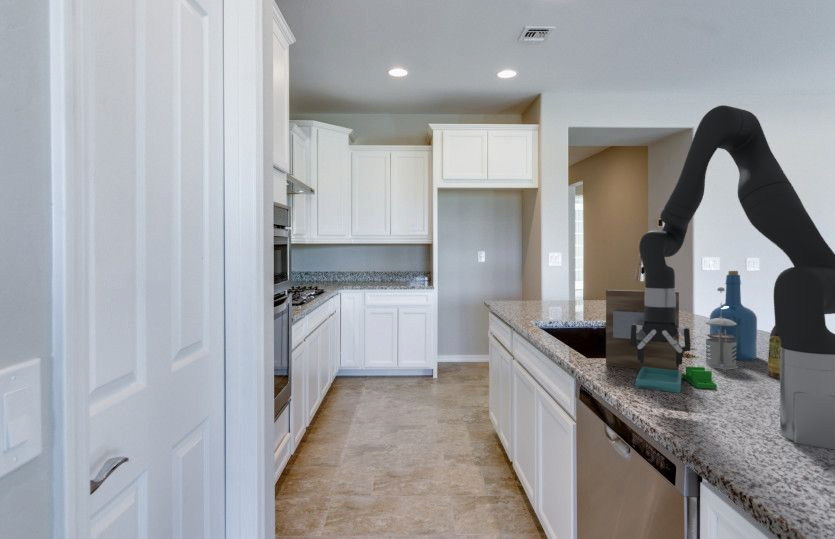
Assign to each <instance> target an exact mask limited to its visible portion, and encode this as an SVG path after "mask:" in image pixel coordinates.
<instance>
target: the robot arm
mask: <svg viewBox="0 0 835 539" xmlns="http://www.w3.org/2000/svg"><path fill="white" fill-rule="evenodd" d="M717 149H721V150H724V151H726V152H727V153H728V154H729V155H730V157H731V158H732V160H733V162H734V164H735V165H736V167H737V169H738V173H739V175H738V176H739V177H738V178H739V179H738V184H737V198H738V202H739V203H740V205H741V207H742V209H743V211H744V214H745V216H746V218H747V220H748V221H749V223H750V225H752V226H753V227H754V228H755V230H757V231H758V233H760V234H761V235H763V236H764V237H765V238H766V239H767V240H769V241H770V242H771V243H773V245H775V246H777V247H778V248H779V249H780V250H781V251H782V252H783V253H784V254H785V255H786V256H787V257H788V258H789V260H790V263H792V265H793V266H791V267H788V268H785V269H784V270H782V272H780V273H779V274H778V275H777V278H776V279H775V281H774V287H773V310H774V311H773V312H774V326H775V327H776V331H777V334H778V336H779V338H780V346H781V347H780V379H779V433H780V435H781V436H782V437H784V438H786V439H788V440H790V441H792V442H794V444H798V445H804V446H810V447H817V448H823V449H824V448H825V449H828V450H834V451H835V333H834V332H832V331H830V329H829V328H828V327H827V325H826V315H833V314H835V252H834V251H833V250H832V248H831V247H830V246H829V244H828V243H827V242H826V240H825V239H824V237H823V236H822V234H821V233H820V231H819V229H818V228H817V226H816V224H815V223H814V221H813V220H812V218H811V216H810V214H809V213H808V211H807V210H806V208H805V206H804V205H803V202H802V200H801V198H800V197H799V195H798V192H797V191H796V190H795V188H794V186H793V184H792V183H791V181H790V179H789V178H788V176H787V175H786V174H785V172H784V170H783V169H782V166H781V165H780V163H779V162H778V159H777V158H776V157H775V155H774V154H773V152H772V150H771V147H770V146H769V143H768V140H767V137H766V135H765V133H764V130H763V127H762V125H761V123H760V121H759V119H758V117H757V116H756V115H755V114H754V113H753V112H752V111H749V110H746V109H742V108H738V107H734V106H729V105H716V106H714V107H712V108H711V109H709V110H708V111H707V112H706V113H705V114H704V115H703V116H702V118H701V120H700V121H699V123H698V126H697V128H696V131H695V133H694V135H693V139H692V141H691V145H690V147H689V149H688V151H687V152H688V153H687V155H686V158H685V160H684V164H683V167H682V169H681V172H680V174H679V175H680V176H679V177H678V179H677V182H676V184H675V187H673V188H674V189H673V190H672V192H671V193H670V195H669V197H668V199H667V202H666V203H665V205H664V206H663V208H662V211H661V213H660V215H659V216H660V217H659V218H660V220H661V222H663V223H664V225H663V228H662V230H649V231H648V232H646V233H644V234H643V235H642V236H641V238H640V241H639V245H638V246H639V249H638V250H639V256H640V258H641V263H642V267H643V269H644V274H645V278H644V282H645V286H644V287H645V288H644V289H645V290H644V291H645V294H644V325H643V326H641V325H636V324H633V325H632V326H631V339H630V345H631V346H634V347H636V348H637V350H638V360H640V363H643V362H644V348H643V347H644V345H645V344H646V343H647V342H648V341H649V340H651V341H653V342H662V343H666V342H670V343H671V344H672V346H673V347H674V348H675V349H676V350H677V351H676V367H679V368H680V365H681V366H682V364H683V353H684V352H690V351H691V334H690V328H689V327H679V328H677V326H676V294H675V292H676V289H675V286H676V281H675V280H676V274H675V269H674V268H673V267H671V266H669V265H668V264H667V262H666V258H670V257H673V256H675V255H676V254H677V253H678V252H679V251H680V250H681V248H682V247H683V244H684V241H685V239H686V234H687V232H688V227H689V224H690V222H691V221H692V219H693V217H694V215H695V214H696V213H697V210H698V208H699V207H700V205H701V203H702V201H703V197H704V194H705V189H706V188H705V186H706V175H707V171H708V170H707V169H708V167H709V163H710V162H711V159H712V157H713V156H714V154H715V153H716V151H717ZM641 329H642V330H643V331H644V333H645V334H646V335H647V336H646V337H645V338H644V339H643V340H642V341H641V342H640V343H638V342H636V336H637V333H638V332H639V331H640V330H641ZM677 332H679V334H680V335H681V336H682V337H684V345H683V346H681V345H680V342H679V343H678V342H677V341H676V339H675V338H674V336H675V334H676V333H677Z"/></svg>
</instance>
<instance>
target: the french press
mask: <svg viewBox="0 0 835 539" xmlns="http://www.w3.org/2000/svg"><path fill="white" fill-rule="evenodd" d="M716 291H717V292H726V288H725V287H718V288H717V289H716ZM704 323H705V325H707V326H708V325H709V326H710V325H715V326H735V325H736V323H735V322H733V321H731V320H729V319H724V318H722V317H720V318H714V319H711V320H710V319H709V320H707V321H705V322H704ZM718 332H719V334H710V333H709V334H707V335H706V336H707V337H709V338H706V339H705V352H706V353H705V362H704V363H703V365H704V366H706V367H710V368H714V369H721V370H735V368H736V369H738V368H739V366H738V365H737V360H734V359H736V356H735V357H732V356H734V355H736V352H735V353H732V352H733V351H735V350H736V348H734V349H732V348H733V347H735V346H736V341H733V340H726V339H734V338H735V337H734V336H732V335H726V329H725V332H724V333H720V331H719V329H718ZM722 334H725V335H722ZM710 337H711V338H717V339H710ZM710 346H711V348H710ZM710 350H711V351H710ZM709 354H711V355H709Z"/></svg>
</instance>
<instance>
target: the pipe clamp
mask: <svg viewBox="0 0 835 539" xmlns="http://www.w3.org/2000/svg"><path fill="white" fill-rule="evenodd" d="M712 374H713V373H712V370H706V367H705V366H686V365H685V372H682V379H684V380H686V381H687V382H688V383H689V384H691V385H693V386H694V387H696V388H697V389H716V390H717V389H718V388H717V386H718V385H717V384H716V383H715V382H713V380H712V379H713V375H712Z"/></svg>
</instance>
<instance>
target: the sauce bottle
mask: <svg viewBox="0 0 835 539" xmlns="http://www.w3.org/2000/svg"><path fill="white" fill-rule="evenodd" d="M780 347H781V346H780V338H779V336H778V334H777V331H776V327H775V325H774V326H773V327H772V329H771V331H770V334H769V341H768V358H767V360H768V361H767V371H768V373H767V375H768V376H769V377H770V378H774V379H779V380H780Z"/></svg>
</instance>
